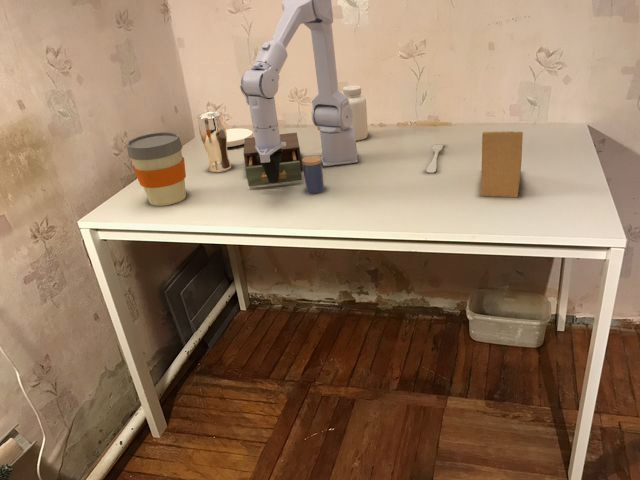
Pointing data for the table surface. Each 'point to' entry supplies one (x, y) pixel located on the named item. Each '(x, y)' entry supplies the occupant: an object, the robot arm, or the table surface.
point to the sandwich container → (501, 163)
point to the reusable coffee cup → (159, 166)
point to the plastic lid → (237, 136)
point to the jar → (313, 174)
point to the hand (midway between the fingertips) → (274, 181)
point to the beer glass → (214, 140)
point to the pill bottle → (357, 111)
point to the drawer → (286, 172)
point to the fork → (434, 159)
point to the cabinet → (291, 145)
